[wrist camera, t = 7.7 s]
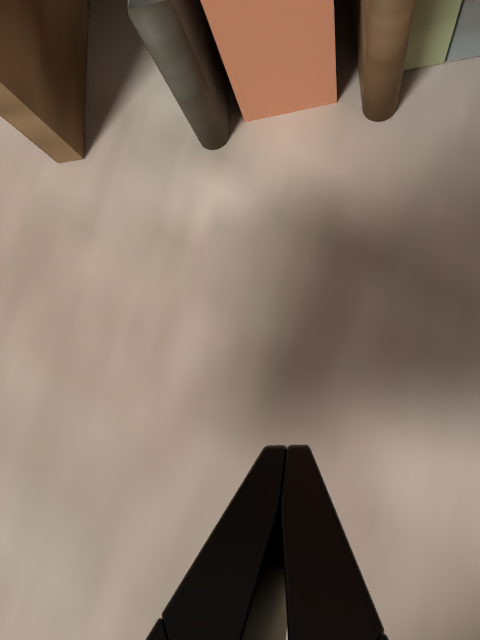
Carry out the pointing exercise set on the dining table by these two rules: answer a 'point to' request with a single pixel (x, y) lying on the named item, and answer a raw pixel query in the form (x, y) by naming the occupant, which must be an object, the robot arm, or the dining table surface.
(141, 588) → the dining table surface
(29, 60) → the book rack
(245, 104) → the book
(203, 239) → the dining table surface
